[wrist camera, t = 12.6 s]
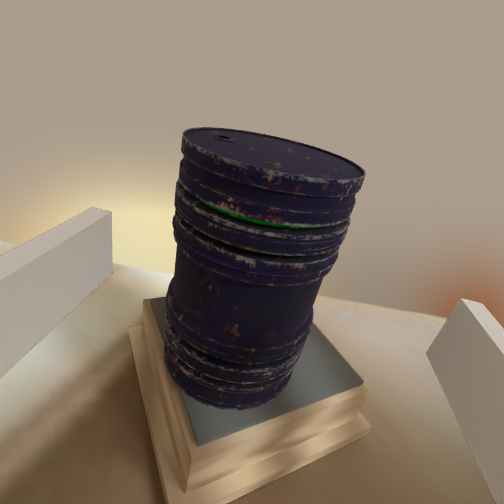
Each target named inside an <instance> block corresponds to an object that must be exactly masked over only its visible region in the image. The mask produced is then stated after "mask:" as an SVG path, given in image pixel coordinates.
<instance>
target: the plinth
mask: <svg viewBox="0 0 504 504" xmlns="http://www.w3.org/2000/svg"><path fill="white" fill-rule="evenodd" d="M166 306H167V305H166V297H160V298H152V299H145V300H143V319H142V325H136V326H130V327H129V340H130V344H131V349H132V353H133V358H134V362H135V367H136V371H137V376H138V381H139V385H140V390H141V394H142V399H143V403H144V408H145V412H146V417H147V422H148V426H149V431H150V435H151V440H152V444H153V449H154V453H155V458H156V463H157V467H158V472H159V476H160V481H161V485H162V490H163V494H164V499H165V504H227V503H229V502H231V501H233V500H235V499H237V498H239V497H241V496H243V495H246V494H248V493H250V492H252V491H254V490H256V489H258V488H260V487H262V486H264V485H266V484H268V483H270V482H272V481H274V480H276V479H278V478H280V477H282V476H284V475H286V474H288V473H290V472H292V471H295V470H297V469H299V468H301V467H303V466H305V465H307V464H309V463H311V462H313V461H315V460H317V459H319V458H321V457H323V456H325V455H327V454H329V453H331V452H333V451H335V450H337V449H339V448H341V447H344V446H346V445H348V444H350V443H352V442H354V441H356V440H358V439H360V438H362V437H364V436H366V435H367V433H368V432H369V430H370V429H371V427H372V426H371V425H370V424H369V422H368V421H367V420H366V419H365V417H364V416H363V415H362V414H361V412H360V411H359V410H360V408H361V406H362V405H363V403H364V401H365V399H366V398H367V396H368V394H369V392H370V390H371V389H372V388H371V387H370V386H369V385H368V384H367V383H366V381H365V380H364V379H363V378H362V377H361V376H360V375H359V374H358V372H357V371H356V370H355V369H354V368H353V367H352V366H351V364H350V363H349V362H348V361H347V360H346V359H345V358H344V356H343V355H342V354H341V353H340V352H339V351H338V350H337V348H336V347H335V346H334V345H333V344H332V343H331V342H330V341H329V339H328V338H327V337H326V336H325V335H324V334H323V333H322V331H321V330H320V329H319V328H318V327H317V326H316V325H315V323H314V322H313V321H312V327H311V331H310V333H309V335H308V337H307V338H306V343H305V345H304V348H303V350H302V353H301V355H300V357H299V359H298V361H297V362H296V364H295V366H294V368H293V371H292V375H291V378H290V380H289V382H288V384H287V386H286V387H285V389H284V390H283V391H282V393H281V394H279V395H278V396H277V397H276V398H275V399H274V400H272V401H270V402H268V403H267V404H265V405H262V406H259V407H256V408H252V409H247V410H224V409H218V408H214V407H210V406H207V405H205V404H202V403H200V402H198V401H196V400H194V399H193V398H191V397H189V396H188V395H186V394H185V393H184V392H183V391H182V390H181V389H180V388H178V386H177V385H176V384H175V383H174V381H173V380H172V379H171V377H170V375H169V373H168V372H167V369H166V366H165V362H164V345H165V329H164V323H165V312H166Z"/></svg>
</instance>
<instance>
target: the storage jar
mask: <svg viewBox="0 0 504 504" xmlns="http://www.w3.org/2000/svg"><path fill="white" fill-rule="evenodd" d="M181 151H182V153H183V155H184V158H183V159H182V160H181V162H180V172H179V179H178V181H177V183H176V192H175V204H174V205H175V208H176V210H175V215H174V217H173V222H172V224H173V228H174V238H175V241H176V243H177V252H176V262H175V273H174V277H173V278H172V280H171V282H170V284H169V288H168V292H167V295H166V305H167V306H166V312H165V323H164V329H165V345H164V362H165V366H166V369H167V372H168V373H169V375H170V377H171V379H172V380H173V381H174V383H175V384H176V385H177V386H178V388H180V389H181V390H182V391H183V392H184V393H185V394H186V395H188V396H189V397H191V398H193V399H194V400H196V401H198V402H200V403H202V404H205V405H207V406H210V407H214V408H218V409H224V410H247V409H252V408H256V407H259V406H262V405H265V404H267V403H268V402H270V401H272V400H274V399H275V398H276V397H277V396H278V395H279V394H281V393H282V391H283V390H284V389H285V387H286V386H287V384H288V382H289V380H290V378H291V375H292V371H293V368H294V366H295V364H296V362H297V361H298V359H299V357H300V355H301V353H302V350H303V348H304V345H305V343H306V338H307V337H308V335H309V333H310V331H311V327H312V320H313V304H314V302H315V299H316V296H317V293H318V290H319V288H320V285H321V282H322V279H323V277H324V276H325V275H326V274H328V273H329V272H330V270H331V268H332V266H333V264H334V263H335V262H336V259H337V258H338V250H339V247H340V245H341V244H342V242H343V240H344V238H345V235H346V233H347V230H348V227H349V225H350V215H351V213H352V210H353V208H354V205H355V194H356V193H357V192H358V191H359V190H360V189H361V186H362V183H363V181H364V178H365V175H366V173H365V171H364V169H363V168H361V167H360V166H359V165H357V164H356V163H354V162H352V161H350V160H348V159H346V158H344V157H342V156H339V155H336V154H334V153H331V152H329V151H326V150H322V149H320V148H317V147H314V146H310V145H307V144H303V143H300V142H296V141H292V140H288V139H283V138H280V137H275V136H270V135H265V134H260V133H255V132H248V131H242V130H235V129H226V128H213V127H202V128H191V129H187V130H185V131H184V132H183V136H182V147H181Z"/></svg>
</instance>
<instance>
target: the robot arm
mask: <svg viewBox="0 0 504 504" xmlns="http://www.w3.org/2000/svg"><path fill="white" fill-rule="evenodd" d="M111 214H112V213H111V211H107V210H103V209H98V208H95V207H91V208H90V209H87V210H86V211H84V212H82V213H80V214H78V215H76V216H74V217H73V218H71V219H69V220H67V221H65V222H64V223H61V224H59V225H58V226H56V227H54V228H52V229H50V230H48V231H47V232H45V233H43V234H41V235H39V236H37V237H35V238H33V239H32V240H30V241H28V242H26V243H24V244H22V245H21V246H19V247H17V248H15V249H13V250H11V251H9V252H8V253H6V254H4V255H2V256H0V378H1V377H2V376H3V375H4V374H5V373H6V372H8V371H9V370H10V369H11V368H12V367H13V366H14V365H15V364H16V363H17V362H18V361H19V360H20V359H21V358H22V357H24V356H25V355H26V354H27V353H28V352H29V351H30V350H31V349H32V348H33V347H34V346H35V345H36V344H37V343H38V342H39V341H41V340H42V339H43V338H44V337H45V336H46V335H47V334H48V333H49V332H50V331H51V330H52V329H53V328H54V327H55V326H56V325H58V324H59V323H60V322H61V321H62V320H63V319H64V318H65V317H66V316H67V315H68V314H69V313H70V312H71V311H72V310H74V309H75V308H76V307H77V306H78V305H79V304H80V303H81V302H82V301H83V300H84V299H85V298H86V297H87V296H88V295H89V294H91V293H92V292H93V291H94V290H95V289H96V288H97V287H98V286H99V285H100V284H101V283H102V282H103V281H104V280H105V279H106V278H108V277H109V276H110V275H111V274H112V215H111ZM426 354H427V356H428V359H429V361H430V363H431V365H432V367H433V369H434V371H435V374H436V376H437V378H438V380H439V382H440V384H441V386H442V389H443V391H444V393H445V395H446V397H447V399H448V402H449V404H450V406H451V408H452V410H453V412H454V414H455V417H456V419H457V421H458V423H459V425H460V427H461V429H462V432H463V434H464V436H465V438H466V440H467V442H468V444H469V447H470V449H471V451H472V453H473V455H474V457H475V460H476V462H477V464H478V466H479V468H480V470H481V472H482V475H483V477H484V479H485V481H486V483H487V485H488V487H489V490H490V492H491V494H492V496H493V498H494V500H495V503H496V504H504V329H503V328H502V326H501V325H500V324H499V323H498V322H497V320H496V319H495V318H494V317H493V316H492V315H491V313H490V312H489V311H488V310H487V309H486V307H485V306H484V305H483V304H482V303H478V302H474V301H470V300H466V299H462V298H461V299H460V301H459V302H458V304H457V305H456V307H455V308H454V310H453V311H452V313H451V315H450V316H449V318H448V319H447V321H446V322H445V324H444V325H443V327H442V329H441V330H440V332H439V333H438V335H437V336H436V338H435V340H434V341H433V343H432V344H431V346H430V347H429V349H428V351H427V352H426Z"/></svg>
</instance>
